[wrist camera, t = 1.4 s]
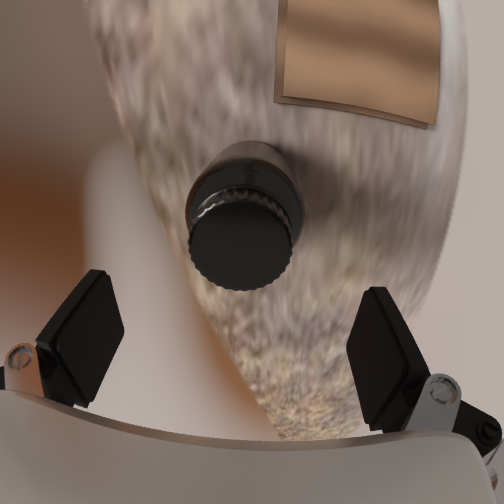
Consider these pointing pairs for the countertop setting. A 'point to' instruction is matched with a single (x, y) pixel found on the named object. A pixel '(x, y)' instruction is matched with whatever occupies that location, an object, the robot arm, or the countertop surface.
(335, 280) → the countertop surface
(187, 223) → the supplement bottle
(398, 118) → the walnut pedestal
